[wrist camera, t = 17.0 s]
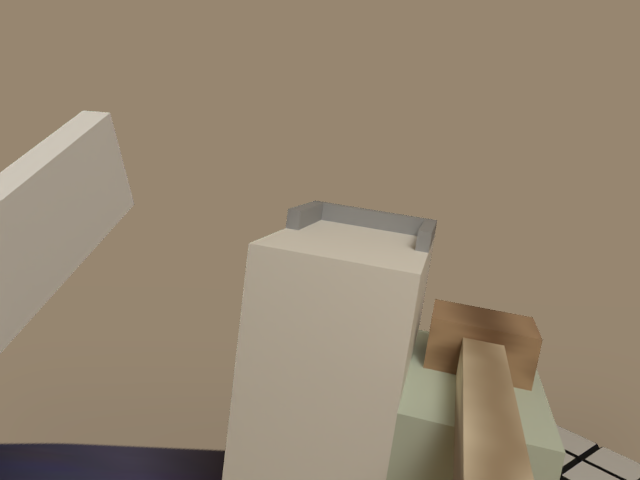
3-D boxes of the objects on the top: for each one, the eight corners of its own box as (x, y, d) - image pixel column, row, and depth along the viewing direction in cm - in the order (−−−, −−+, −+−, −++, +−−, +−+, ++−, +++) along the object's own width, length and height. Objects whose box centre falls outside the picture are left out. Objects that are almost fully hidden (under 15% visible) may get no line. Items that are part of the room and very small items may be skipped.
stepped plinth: (204, 631, 42) (251, 220, 36) (280, 492, 59) (319, 199, 54) (501, 733, 37) (604, 281, 32) (489, 550, 55) (555, 237, 49)
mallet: (387, 562, 23) (402, 471, 22) (427, 343, 50) (435, 299, 49) (600, 624, 21) (624, 528, 21) (523, 362, 48) (532, 317, 48)
